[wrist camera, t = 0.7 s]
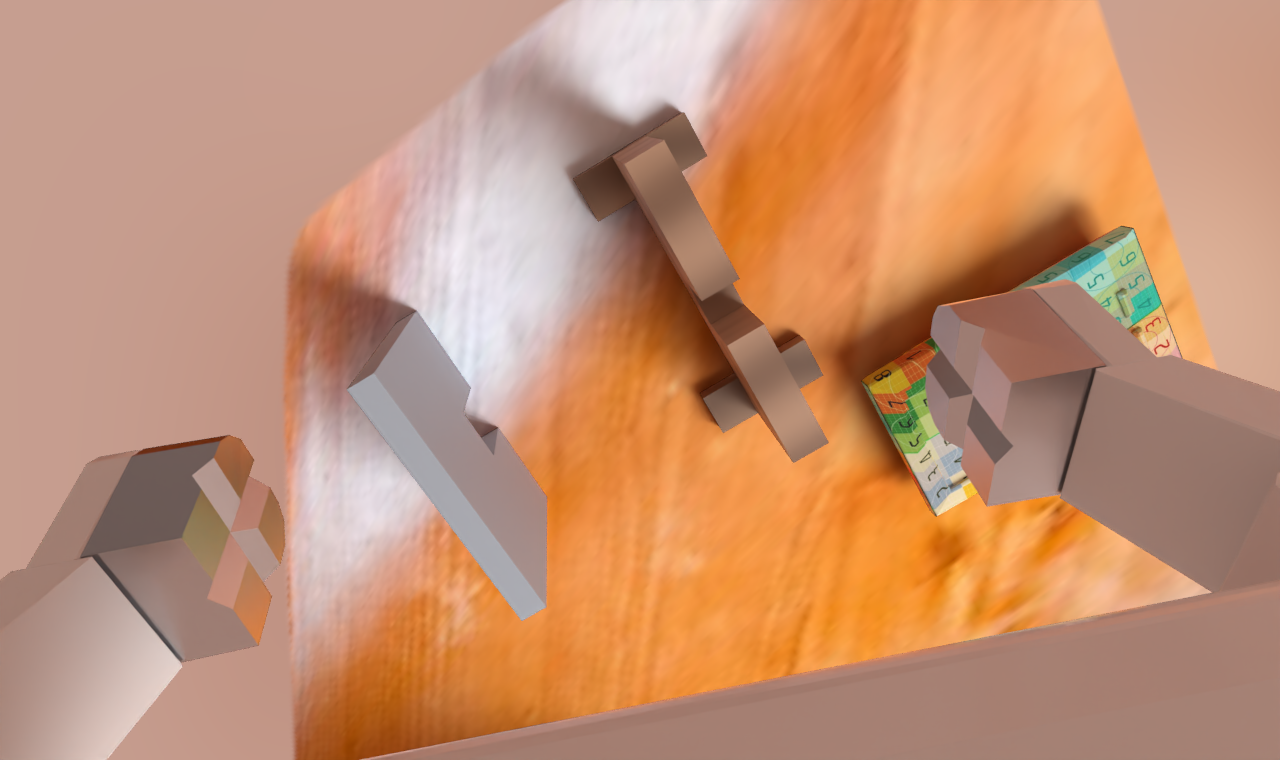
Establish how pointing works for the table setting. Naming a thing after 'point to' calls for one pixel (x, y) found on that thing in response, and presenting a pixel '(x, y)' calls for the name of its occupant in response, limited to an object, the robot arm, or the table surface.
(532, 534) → the grey notched slab
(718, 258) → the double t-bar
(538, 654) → the table surface
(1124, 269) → the puzzle game
